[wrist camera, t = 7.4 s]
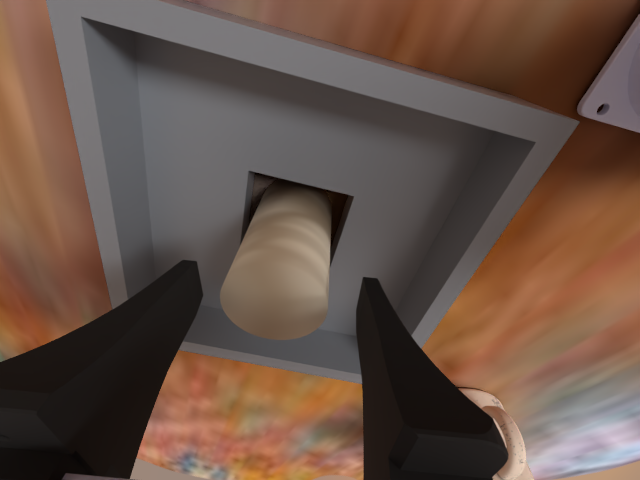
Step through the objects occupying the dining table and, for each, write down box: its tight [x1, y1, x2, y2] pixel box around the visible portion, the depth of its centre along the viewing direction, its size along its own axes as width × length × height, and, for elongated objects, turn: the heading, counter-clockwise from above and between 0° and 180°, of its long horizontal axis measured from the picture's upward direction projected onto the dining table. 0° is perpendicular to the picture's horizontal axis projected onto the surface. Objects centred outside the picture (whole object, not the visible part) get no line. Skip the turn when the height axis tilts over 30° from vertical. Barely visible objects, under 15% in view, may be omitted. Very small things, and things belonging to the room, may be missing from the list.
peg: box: [220, 179, 332, 340], centre depth 16 cm, size 4×4×8 cm
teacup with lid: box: [458, 388, 534, 480], centre depth 26 cm, size 12×9×12 cm
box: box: [46, 0, 579, 384], centre depth 17 cm, size 18×18×5 cm
